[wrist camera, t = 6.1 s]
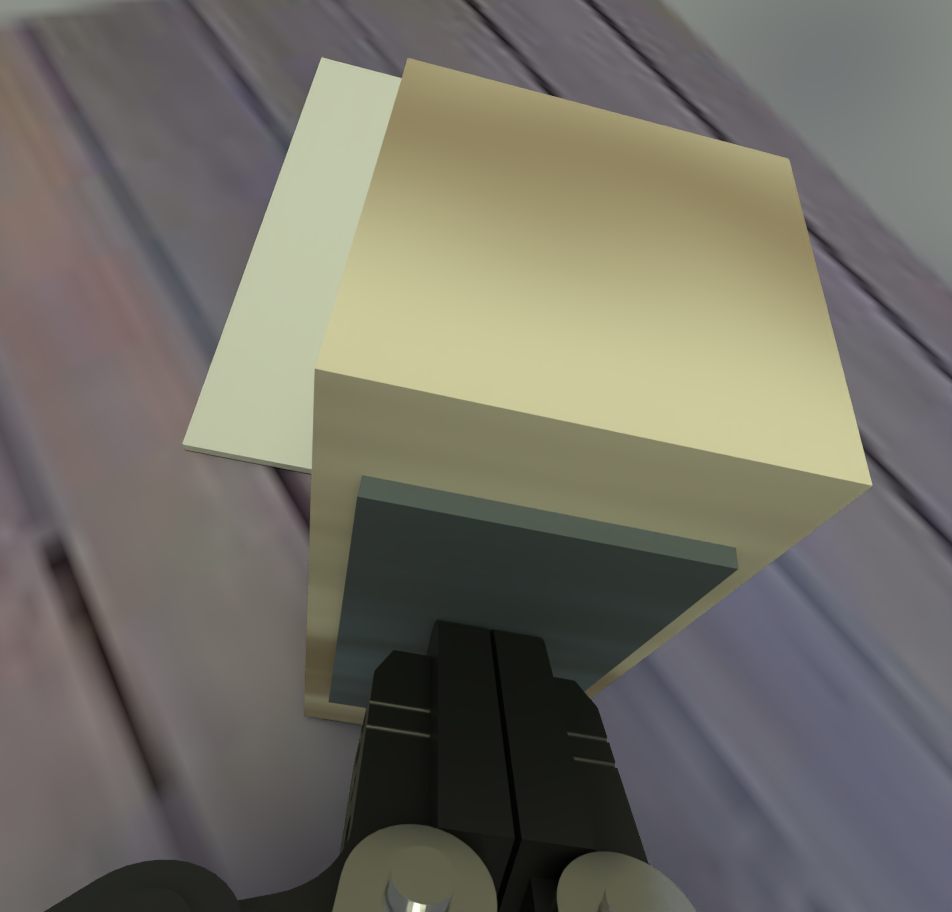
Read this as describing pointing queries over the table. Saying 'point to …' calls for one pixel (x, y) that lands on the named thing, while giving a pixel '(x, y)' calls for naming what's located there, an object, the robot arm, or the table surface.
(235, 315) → the cream mat
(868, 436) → the table surface
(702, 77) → the table surface
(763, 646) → the table surface
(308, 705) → the birch block
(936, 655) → the table surface
